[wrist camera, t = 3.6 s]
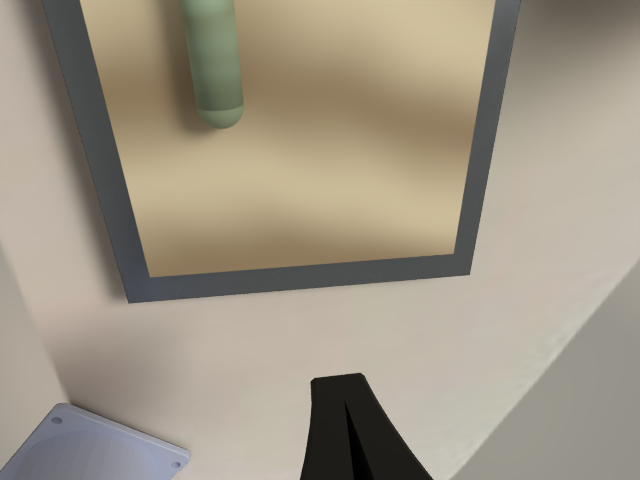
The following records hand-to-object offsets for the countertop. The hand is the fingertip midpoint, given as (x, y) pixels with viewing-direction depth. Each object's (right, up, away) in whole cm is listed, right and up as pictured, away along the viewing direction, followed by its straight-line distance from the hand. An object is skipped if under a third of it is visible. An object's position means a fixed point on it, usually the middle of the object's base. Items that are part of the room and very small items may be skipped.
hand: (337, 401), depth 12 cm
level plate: (-1, +9, +3) cm, 10 cm away
